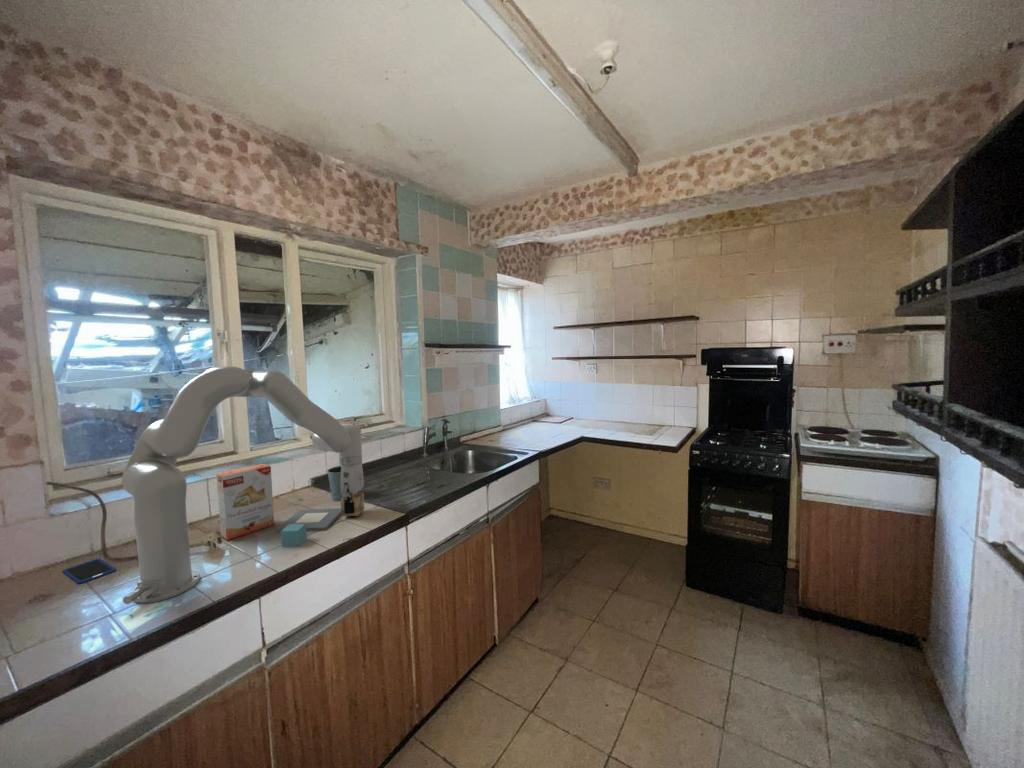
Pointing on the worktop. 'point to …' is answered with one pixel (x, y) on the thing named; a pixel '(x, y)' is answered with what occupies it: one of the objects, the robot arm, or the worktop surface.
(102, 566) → the cell phone
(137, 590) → the robot arm
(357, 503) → the oak cube
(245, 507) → the cracker box
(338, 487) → the blue cup
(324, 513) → the board
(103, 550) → the worktop surface
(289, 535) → the teal cube
